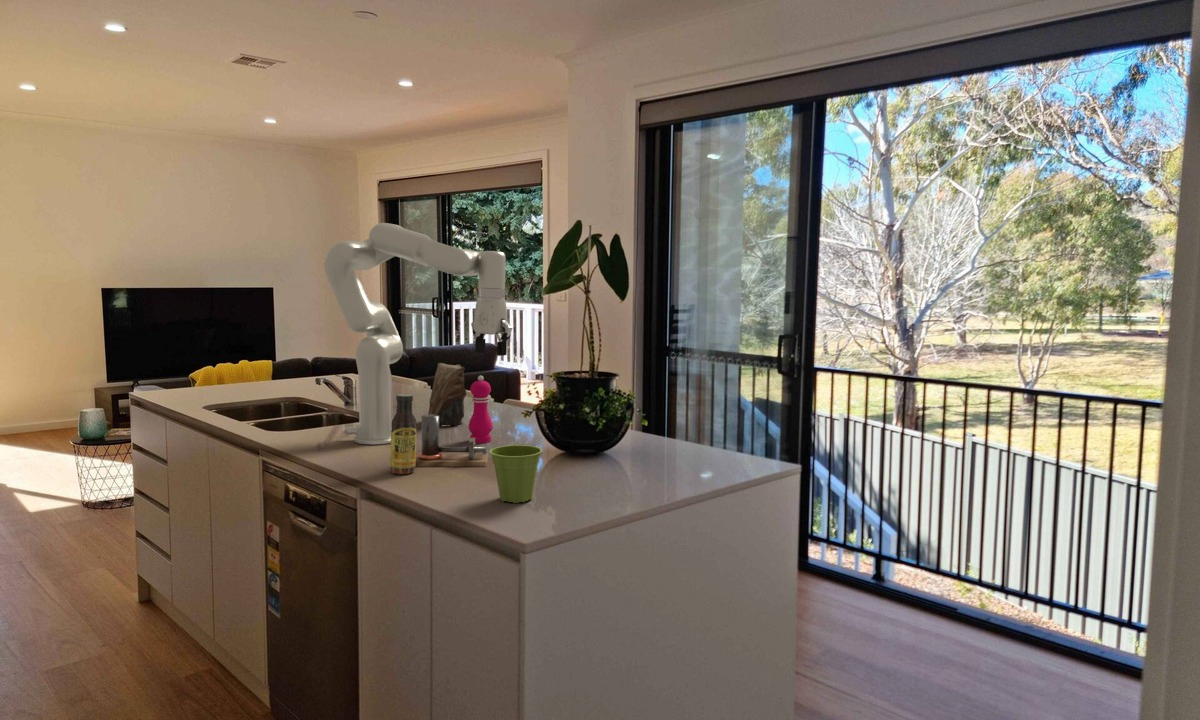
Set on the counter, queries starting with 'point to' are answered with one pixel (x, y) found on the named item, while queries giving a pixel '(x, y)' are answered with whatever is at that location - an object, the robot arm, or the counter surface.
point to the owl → (448, 394)
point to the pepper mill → (480, 412)
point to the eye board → (457, 459)
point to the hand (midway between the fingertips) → (490, 353)
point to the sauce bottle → (403, 437)
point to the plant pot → (515, 471)
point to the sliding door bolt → (437, 440)
